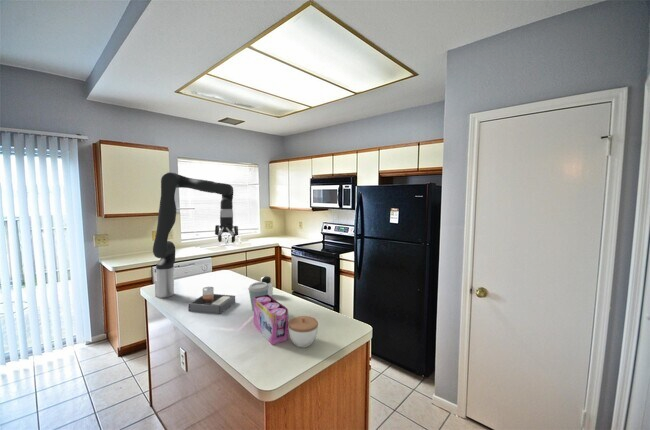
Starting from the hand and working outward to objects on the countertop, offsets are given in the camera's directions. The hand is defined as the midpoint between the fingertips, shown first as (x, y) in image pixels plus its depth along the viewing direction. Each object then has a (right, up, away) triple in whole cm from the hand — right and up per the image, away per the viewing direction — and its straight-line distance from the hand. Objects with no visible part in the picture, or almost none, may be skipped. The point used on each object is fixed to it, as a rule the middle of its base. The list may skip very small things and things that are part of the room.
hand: (226, 242), depth 171 cm
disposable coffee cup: (+26, -35, -23) cm, 49 cm away
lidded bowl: (+52, -38, -54) cm, 84 cm away
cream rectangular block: (+5, -34, -21) cm, 40 cm away
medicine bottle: (+24, -34, 0) cm, 42 cm away
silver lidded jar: (-3, -33, -20) cm, 39 cm away
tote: (0, -34, -20) cm, 40 cm away
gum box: (+36, -37, -45) cm, 68 cm away
